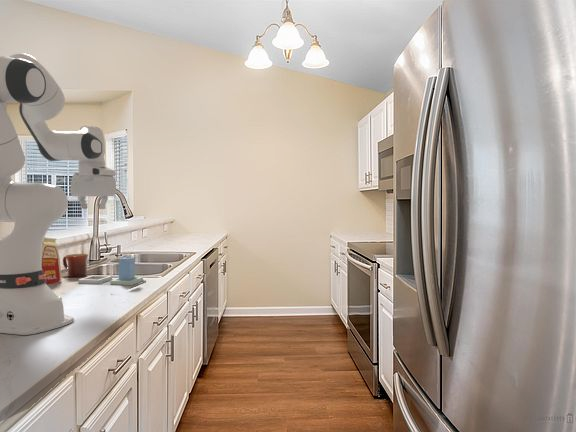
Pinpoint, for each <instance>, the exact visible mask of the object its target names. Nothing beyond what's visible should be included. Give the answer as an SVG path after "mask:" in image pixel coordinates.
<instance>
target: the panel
mask: <svg viewBox="0 0 576 432" xmlns="http://www.w3.org/2000/svg"><path fill="white" fill-rule="evenodd" d="M77 281H78V282H76V283H75V285H90V286H92V285H94V286H116V287H118V286H119V287H130V289H133V288H135V287H137V286H140V285H144V284H146V283H147V280H146V279H144V276H135V279H134V280H131V281H123V280H119V277H117V278H113V276H112V275H96V274H95V275H93V274H92V275H90V276H84V277H81V278H79V279H78V280H77Z"/></svg>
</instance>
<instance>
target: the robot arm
mask: <svg viewBox="0 0 576 432" xmlns="http://www.w3.org/2000/svg"><path fill="white" fill-rule="evenodd" d="M8 103H20V104H19V105H18V107H19V108H18V109H19V114H20V115H19V116H20V117H21V120H22V121H23V123H24V125H25V126H26V128H27V130H28V131H29V133H30V134H31V137H32V138H33V140H34V141H35V143H36V145H37V148H38V151H39V153H40V155H41V156H42V157H43V158H44V159H46V160H48V161H49V162H57V161H59V162H60V161H78V171H75V172H74V174H73V175H72V177H71V181H70V187H69V188H70V195H71V197H77V200H78V202H79V204H80V209H81V210H84V209H85V210H87V209H88V204H87V203H86V198H87V197H100V198H99V200H100V203H99V204H98V209H99V210H105V209H106V204H107V202H108V199H109V197H115V196H116V194H117V193H116V192H117V181H116V177H115V176H116V175H117V174H116V172H117V171H116V170H114V169H112V168H109V167H107V166H106V161H105V154H106V143H105V136H104V131H103V130H102V128H99V127H98V126H93V125H82V126H80V128H79V130H78V131H56V130H52V129H50V127H49V126H48V124H47V122H46V121H49V120H51V119H54V118H56V117H57V116H58V115H60V113H62V111H63V110H64V107H65V103H66V98H65V95H64V92H63V89H61V86H59V84H58V82H57V81H56V80H55V78H54V77H53V75H51V73H50V72H49V71H48V70H47V69H46V67H44V65H43V64H42V63H41V62H40V61H39V60H38V59H37V58H36V57H34V56H32V55H30V54H26V53H14V54H12V55H9V56H3V55H0V223H14V227H13V229H12V231H11V233H10V234H8V235H5V236H3V237H1V238H0V334H10V335H20V336H27V335H28V336H29V335H34V334H40V333H44V332H48V331H51V330H54V329H58V328H61V327H63V326H66V325H69V324H71V323H72V322H74V321H75V320H74V317H73V316H71V315H68V314H65V311H64V303H63V298H62V297H61V296H58V295H57V294H56V293H55V292H54V290H52V288H51V287H49V286H48V284H46V278H48V277H46V278H45V276H47V274H44V271H43V269H42V268H41V257H42V244H43V240H44V237H45V238H46V234H47V233H48V231H49V229H50V228H51V226H53V225H54V223H55V222H57V221H58V220H60V219H61V218H62V217H63V216H64V215H65V214H66V212H67V211H68V205H69V199H68V196H67V194H66V192H65V190H63V188H62V187H60V186H59V185H55V184H49V183H44V182H15V181H14V180H13V179H12V176H14V175H15V174H17V173H18V172H20V171H21V170H22V169H23V168H24V165H25V163H26V156H25V154H24V151H23V147H22V145H21V143H20V139H19V137H18V133H17V131H16V129H15V126H14V124H13V121H12V119H11V118H10V116H9V113H8V112H7V104H8Z"/></svg>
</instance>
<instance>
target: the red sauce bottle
mask: <svg viewBox="0 0 576 432" xmlns="http://www.w3.org/2000/svg"><path fill="white" fill-rule="evenodd" d="M56 240H57V238H54V237H53V238H51V237H46V236H45V237H44V240H43V244H42V257H41V268H42V269H43V271H44V274H47V276H45V278H46V277H48V278H46V284H47V285H49V284H54V283H55V284H56V283H61V282H62V280H63V279H62V267H61V266H62V265H61V259H60V252H59V249H58V245H57V242H56Z"/></svg>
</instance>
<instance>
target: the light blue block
mask: <svg viewBox="0 0 576 432" xmlns="http://www.w3.org/2000/svg"><path fill="white" fill-rule="evenodd" d="M135 265H136V260H135V257H134V256H131V254H130V253H128V254H125V256H124V257H120V258H118V278H119V280H123V281H131V280H134V279H135V277H136V266H135Z"/></svg>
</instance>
